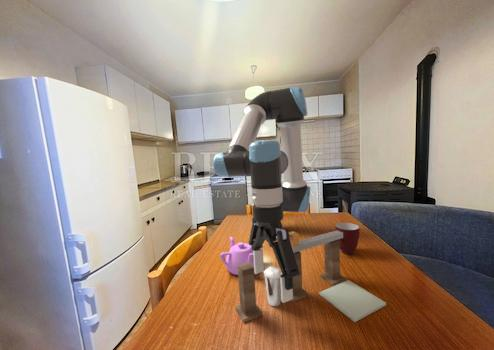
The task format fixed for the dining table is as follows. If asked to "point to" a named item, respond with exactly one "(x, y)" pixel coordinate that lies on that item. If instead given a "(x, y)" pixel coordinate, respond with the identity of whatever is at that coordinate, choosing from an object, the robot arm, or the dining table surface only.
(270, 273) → the milkshake
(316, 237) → the bar
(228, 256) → the teapot
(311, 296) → the dining table surface
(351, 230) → the mug
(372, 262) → the dining table surface
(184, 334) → the dining table surface
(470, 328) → the dining table surface
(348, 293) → the mat
